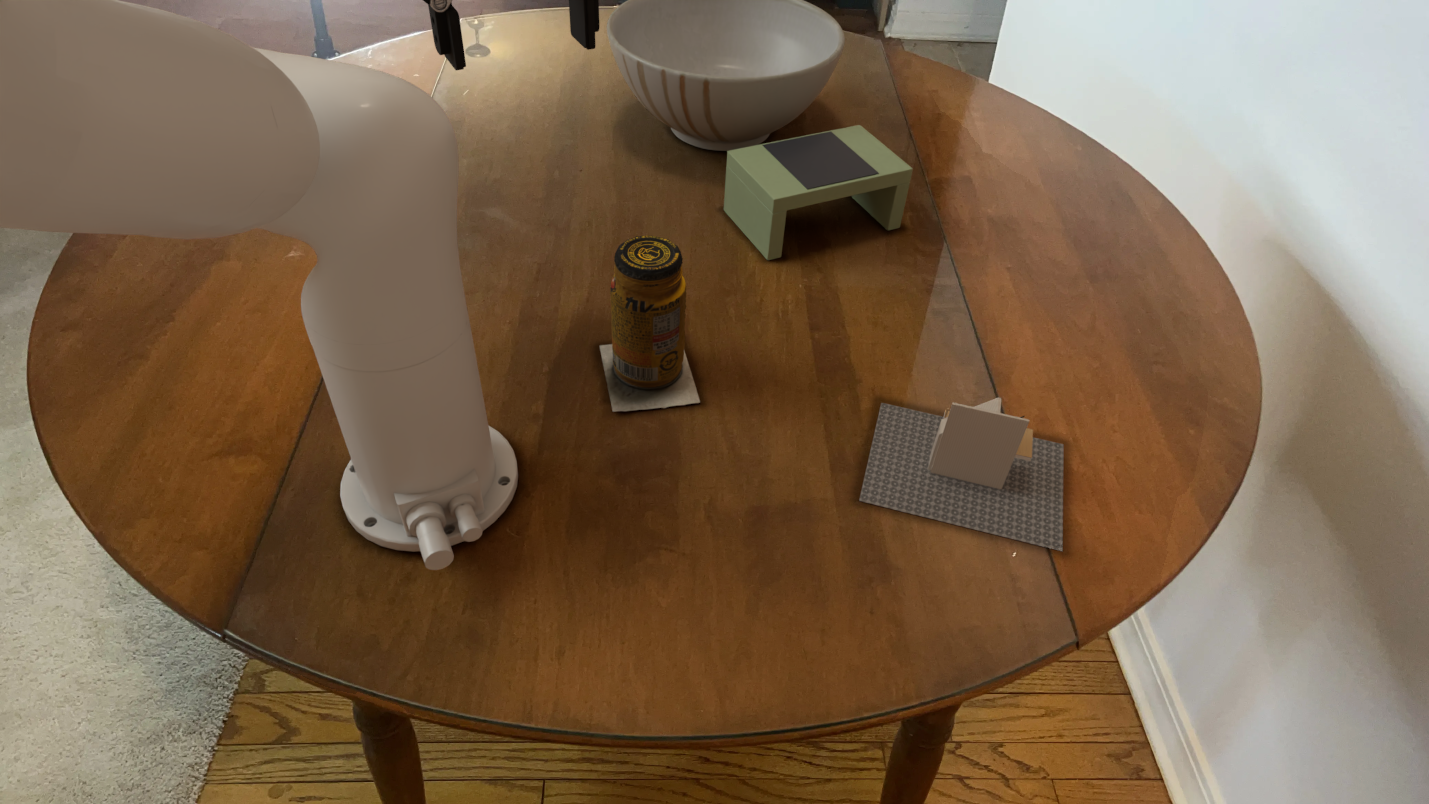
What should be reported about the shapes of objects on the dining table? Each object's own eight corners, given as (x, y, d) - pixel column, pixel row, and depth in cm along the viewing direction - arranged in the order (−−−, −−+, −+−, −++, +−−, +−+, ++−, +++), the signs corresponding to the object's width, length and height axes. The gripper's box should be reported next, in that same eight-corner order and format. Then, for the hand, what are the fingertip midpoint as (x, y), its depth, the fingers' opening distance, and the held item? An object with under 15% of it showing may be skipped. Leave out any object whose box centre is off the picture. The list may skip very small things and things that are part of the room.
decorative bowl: (630, 193, 98) (628, 86, 89) (595, 84, 116) (590, -13, 108) (861, 173, 103) (880, 71, 95) (792, 73, 122) (803, -21, 113)
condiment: (680, 339, 81) (683, 224, 72) (700, 404, 75) (706, 287, 66) (599, 347, 79) (593, 231, 71) (612, 414, 73) (607, 297, 65)
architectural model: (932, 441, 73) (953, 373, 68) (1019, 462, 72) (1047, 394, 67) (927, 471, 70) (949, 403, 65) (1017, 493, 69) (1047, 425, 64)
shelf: (900, 227, 95) (913, 167, 91) (767, 260, 90) (774, 198, 85) (850, 182, 102) (860, 123, 97) (723, 210, 96) (727, 149, 91)
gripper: (357, -218, 48) (414, 93, 59) (652, -228, 54) (651, 54, 66) (327, -243, 52) (386, 50, 64) (602, -249, 59) (610, 18, 71)
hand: (520, 52), depth 65 cm, fingers open, 9 cm apart
